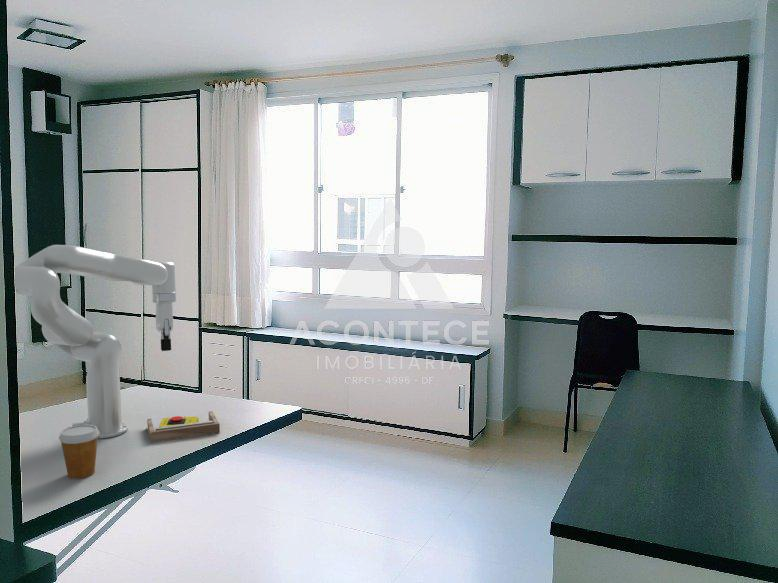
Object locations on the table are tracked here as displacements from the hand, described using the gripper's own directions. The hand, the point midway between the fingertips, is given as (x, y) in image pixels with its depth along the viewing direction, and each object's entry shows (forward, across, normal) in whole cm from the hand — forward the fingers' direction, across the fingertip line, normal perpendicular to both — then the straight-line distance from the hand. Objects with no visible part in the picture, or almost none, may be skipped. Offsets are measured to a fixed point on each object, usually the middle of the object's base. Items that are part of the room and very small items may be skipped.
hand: (166, 350), depth 213 cm
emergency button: (+23, +21, +2) cm, 31 cm away
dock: (+22, +22, +2) cm, 31 cm away
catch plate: (+22, +27, +3) cm, 35 cm away
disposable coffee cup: (+22, +47, -26) cm, 58 cm away
